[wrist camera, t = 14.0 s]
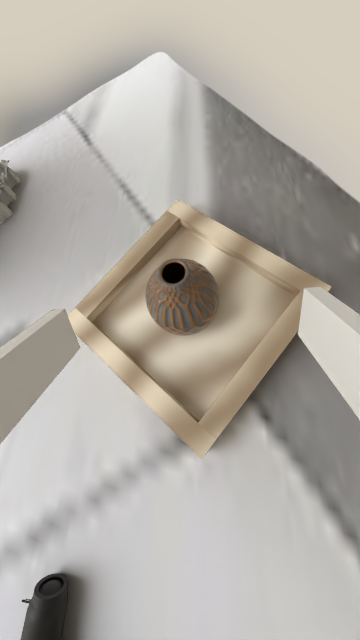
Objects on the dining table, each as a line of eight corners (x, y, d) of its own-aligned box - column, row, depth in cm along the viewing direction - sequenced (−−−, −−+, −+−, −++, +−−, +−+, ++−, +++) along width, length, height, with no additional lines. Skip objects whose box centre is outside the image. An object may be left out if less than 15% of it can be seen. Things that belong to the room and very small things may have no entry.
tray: (75, 326, 28) (62, 320, 25) (180, 214, 30) (177, 199, 28) (202, 451, 21) (201, 459, 19) (320, 296, 24) (331, 286, 22)
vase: (144, 316, 25) (110, 280, 17) (183, 272, 26) (169, 218, 18) (191, 355, 23) (177, 335, 15) (232, 305, 24) (240, 262, 16)
